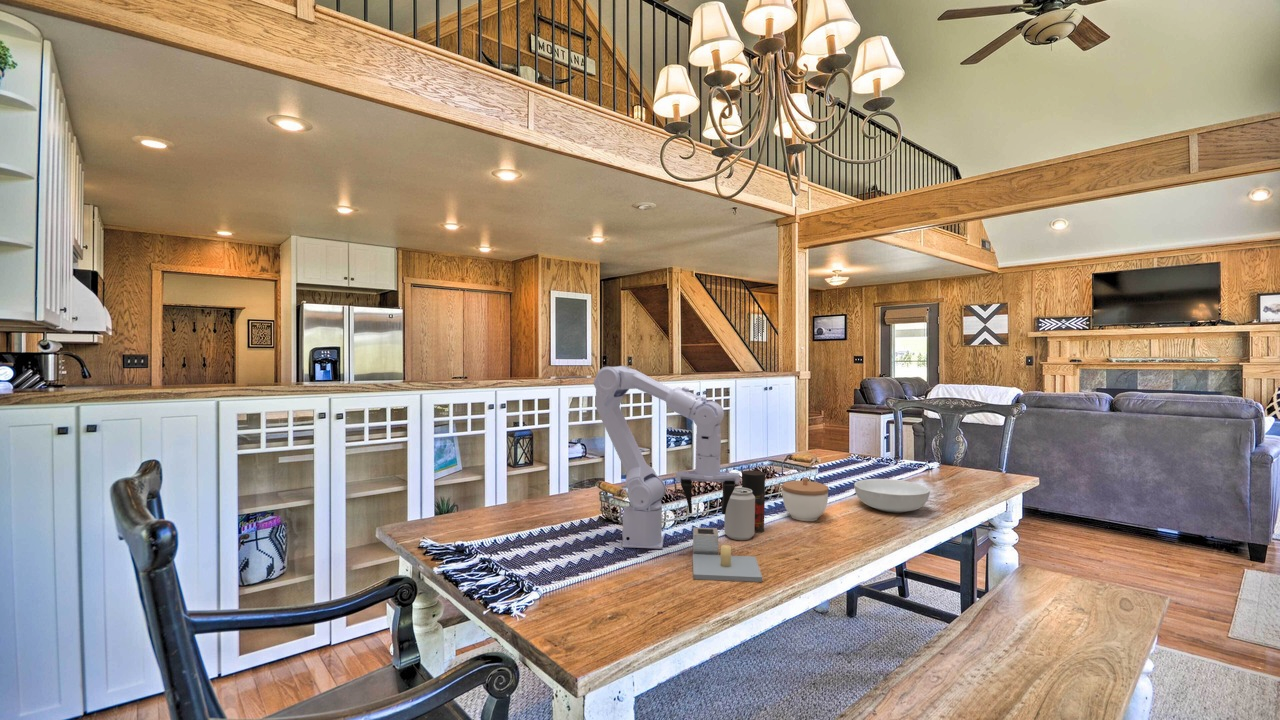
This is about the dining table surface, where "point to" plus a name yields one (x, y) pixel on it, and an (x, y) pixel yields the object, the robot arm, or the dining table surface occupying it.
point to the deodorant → (756, 495)
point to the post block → (726, 567)
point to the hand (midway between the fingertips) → (706, 512)
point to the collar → (705, 541)
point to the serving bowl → (892, 494)
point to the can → (740, 514)
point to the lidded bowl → (805, 499)
